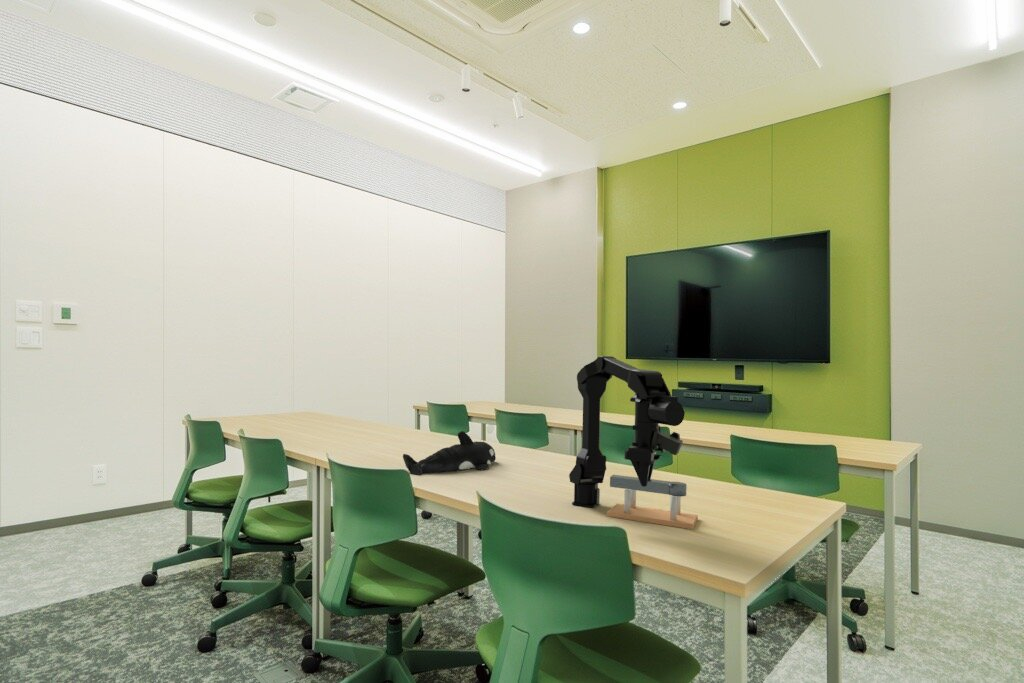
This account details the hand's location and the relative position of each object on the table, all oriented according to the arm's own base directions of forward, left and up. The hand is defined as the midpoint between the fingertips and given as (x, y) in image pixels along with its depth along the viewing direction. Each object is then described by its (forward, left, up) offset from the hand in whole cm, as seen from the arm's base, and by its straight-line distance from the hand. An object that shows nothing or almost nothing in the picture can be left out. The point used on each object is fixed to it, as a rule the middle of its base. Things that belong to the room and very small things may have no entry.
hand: (645, 484), depth 130 cm
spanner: (+1, 0, -1) cm, 1 cm away
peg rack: (-1, +13, -11) cm, 18 cm away
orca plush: (-83, +43, -12) cm, 95 cm away
